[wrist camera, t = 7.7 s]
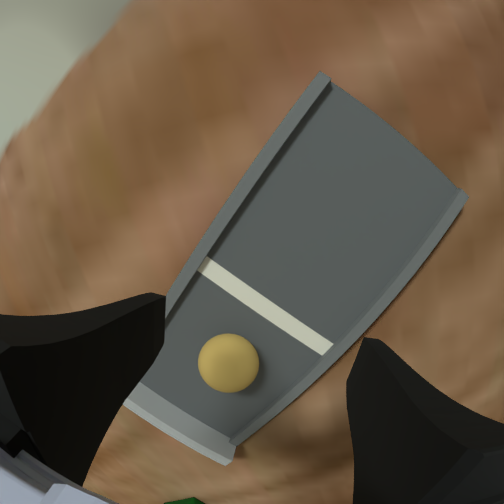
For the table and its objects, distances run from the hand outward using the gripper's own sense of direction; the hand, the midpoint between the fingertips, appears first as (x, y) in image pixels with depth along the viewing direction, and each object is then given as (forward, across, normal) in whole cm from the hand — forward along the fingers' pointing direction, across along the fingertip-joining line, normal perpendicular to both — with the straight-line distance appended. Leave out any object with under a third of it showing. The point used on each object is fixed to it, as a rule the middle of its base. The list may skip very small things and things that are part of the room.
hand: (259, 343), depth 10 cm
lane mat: (+10, 0, +3) cm, 10 cm away
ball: (+7, +2, +7) cm, 10 cm away
